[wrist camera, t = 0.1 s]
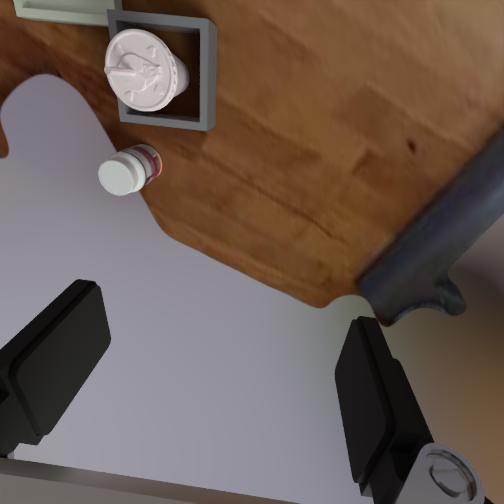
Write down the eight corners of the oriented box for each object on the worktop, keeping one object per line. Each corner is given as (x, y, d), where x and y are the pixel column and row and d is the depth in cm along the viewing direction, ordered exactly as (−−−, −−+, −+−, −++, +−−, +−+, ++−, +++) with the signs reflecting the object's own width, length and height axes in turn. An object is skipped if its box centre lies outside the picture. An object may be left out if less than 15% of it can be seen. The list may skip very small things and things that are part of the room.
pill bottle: (138, 182, 41) (107, 203, 34) (122, 148, 39) (86, 163, 32) (168, 174, 40) (143, 193, 33) (154, 139, 38) (123, 151, 31)
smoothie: (141, 45, 33) (60, 20, 21) (196, 40, 32) (144, 12, 20) (154, 107, 36) (89, 118, 24) (204, 104, 36) (163, 113, 23)
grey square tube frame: (127, 18, 32) (106, 8, 28) (217, 27, 32) (208, 18, 28) (137, 117, 37) (120, 121, 33) (215, 126, 37) (206, 131, 33)
